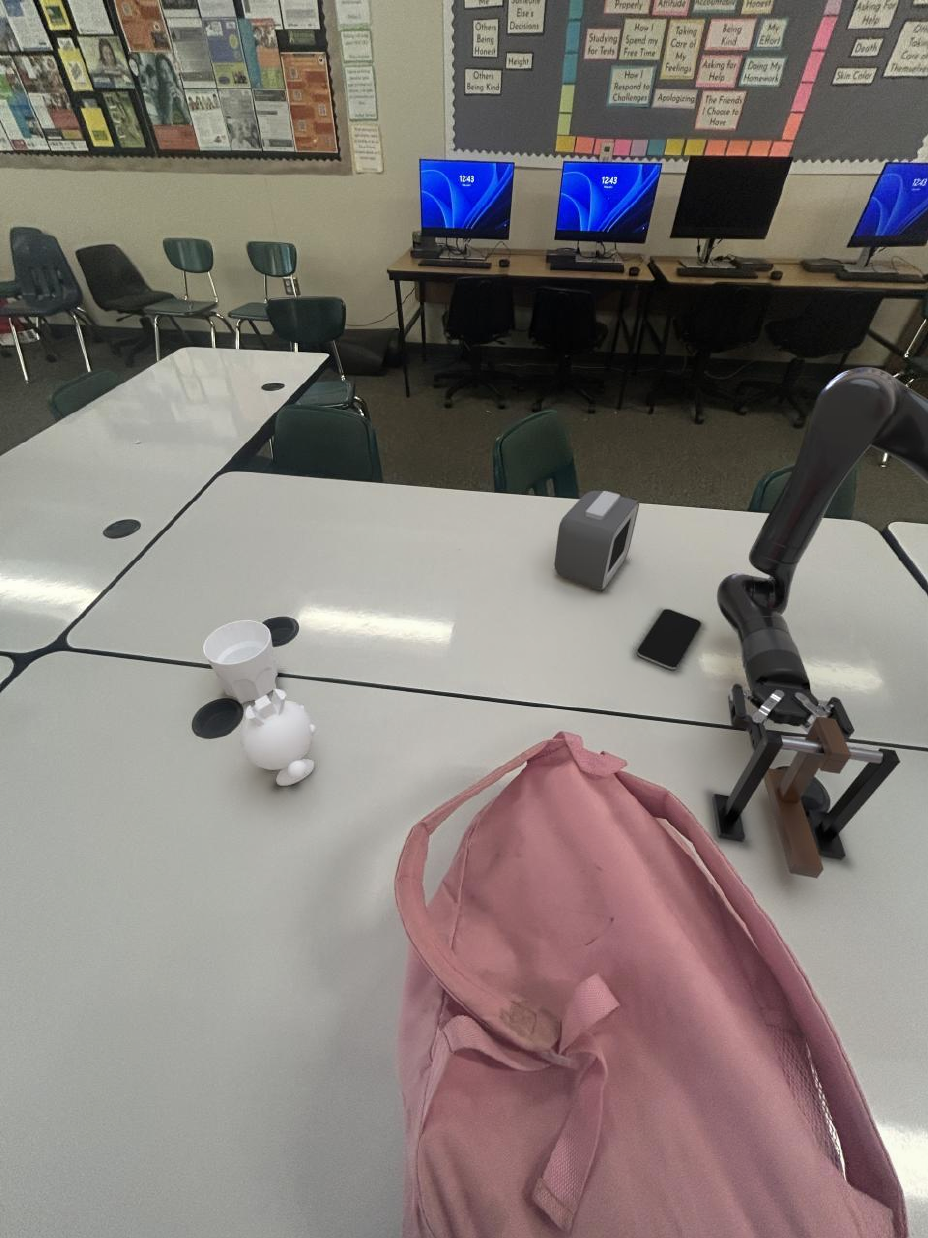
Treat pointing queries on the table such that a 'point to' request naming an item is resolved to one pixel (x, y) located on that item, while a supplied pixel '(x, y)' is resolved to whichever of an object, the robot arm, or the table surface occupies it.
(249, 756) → the toy robot
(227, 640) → the cup
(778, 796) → the hanger
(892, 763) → the rack
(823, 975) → the table surface
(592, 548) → the alarm clock
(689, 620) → the smartphone
